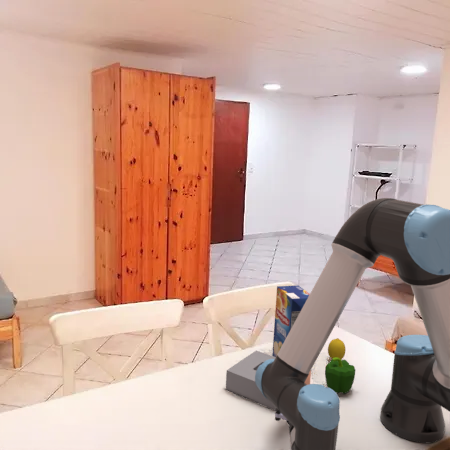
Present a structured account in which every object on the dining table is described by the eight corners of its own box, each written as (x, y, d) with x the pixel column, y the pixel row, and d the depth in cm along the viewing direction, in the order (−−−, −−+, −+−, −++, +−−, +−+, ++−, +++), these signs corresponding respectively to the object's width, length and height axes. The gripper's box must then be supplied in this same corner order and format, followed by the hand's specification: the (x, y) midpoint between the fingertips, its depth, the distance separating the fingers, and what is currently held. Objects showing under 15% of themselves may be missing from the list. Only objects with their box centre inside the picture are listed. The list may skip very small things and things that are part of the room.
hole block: (302, 385, 130) (303, 366, 129) (275, 411, 117) (277, 390, 116) (255, 368, 139) (256, 350, 138) (225, 390, 126) (226, 370, 125)
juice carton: (272, 355, 148) (276, 286, 144) (292, 354, 150) (298, 285, 146) (286, 373, 137) (292, 299, 133) (308, 371, 139) (315, 297, 135)
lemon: (326, 356, 149) (328, 334, 148) (343, 358, 149) (345, 335, 147) (327, 364, 144) (329, 341, 143) (345, 366, 143) (347, 343, 142)
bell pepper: (350, 383, 133) (354, 352, 131) (355, 398, 125) (358, 365, 123) (322, 380, 134) (324, 349, 132) (324, 395, 126) (327, 362, 124)
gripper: (264, 448, 95) (264, 389, 118) (349, 456, 93) (332, 395, 116) (266, 416, 93) (266, 363, 116) (352, 424, 92) (335, 368, 115)
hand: (299, 379), depth 116 cm, fingers open, 4 cm apart
